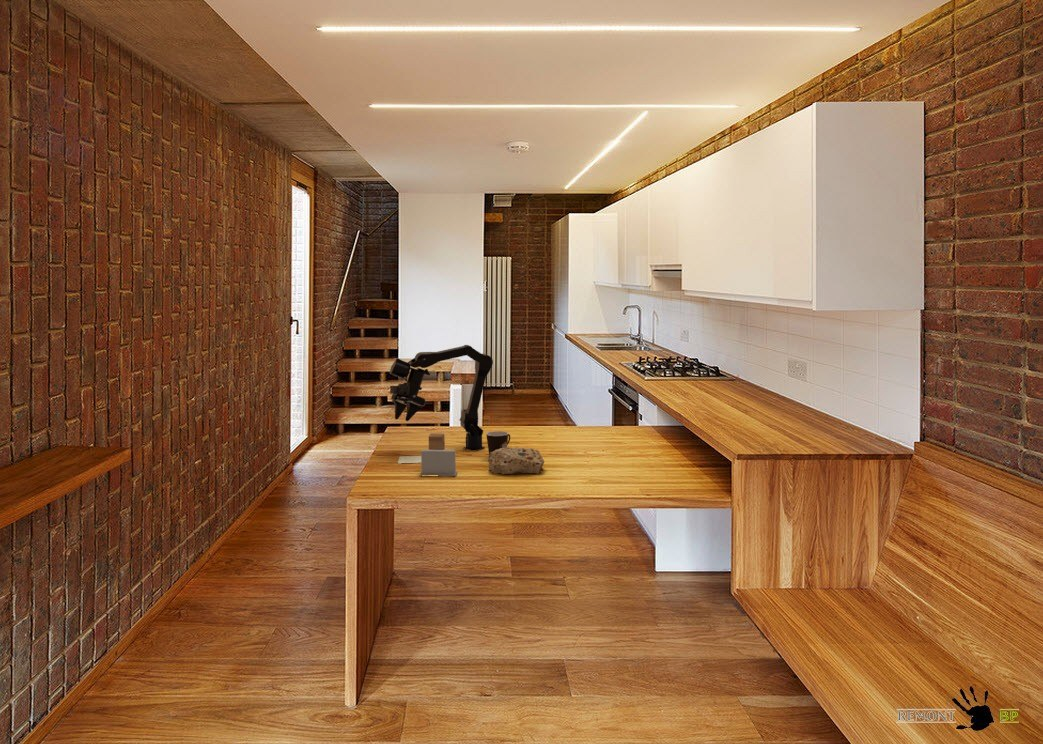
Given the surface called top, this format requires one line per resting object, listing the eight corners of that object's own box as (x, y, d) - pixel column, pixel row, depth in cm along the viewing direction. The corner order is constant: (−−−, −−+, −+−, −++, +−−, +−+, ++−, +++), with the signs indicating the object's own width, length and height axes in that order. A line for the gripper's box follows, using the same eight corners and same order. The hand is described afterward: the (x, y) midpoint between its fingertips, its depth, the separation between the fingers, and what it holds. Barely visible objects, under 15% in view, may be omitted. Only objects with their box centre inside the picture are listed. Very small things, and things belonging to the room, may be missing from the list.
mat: (424, 463, 288) (424, 462, 288) (398, 464, 287) (398, 463, 287) (425, 456, 298) (425, 455, 297) (399, 457, 296) (399, 456, 296)
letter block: (431, 467, 282) (431, 433, 280) (445, 467, 282) (444, 433, 280) (429, 470, 277) (428, 436, 275) (442, 471, 276) (441, 436, 275)
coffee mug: (492, 462, 288) (492, 436, 287) (482, 457, 296) (482, 432, 294) (519, 458, 293) (519, 433, 292) (509, 453, 301) (509, 429, 300)
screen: (457, 473, 273) (457, 449, 272) (455, 476, 269) (455, 452, 267) (422, 473, 274) (421, 448, 273) (419, 476, 270) (419, 451, 268)
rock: (539, 466, 286) (543, 443, 282) (544, 486, 272) (548, 461, 269) (485, 463, 283) (488, 439, 279) (488, 482, 269) (491, 457, 266)
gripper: (386, 375, 301) (373, 412, 298) (407, 376, 286) (394, 415, 283) (409, 384, 307) (397, 420, 304) (431, 386, 292) (418, 424, 289)
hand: (401, 420), depth 295 cm, fingers open, 9 cm apart
